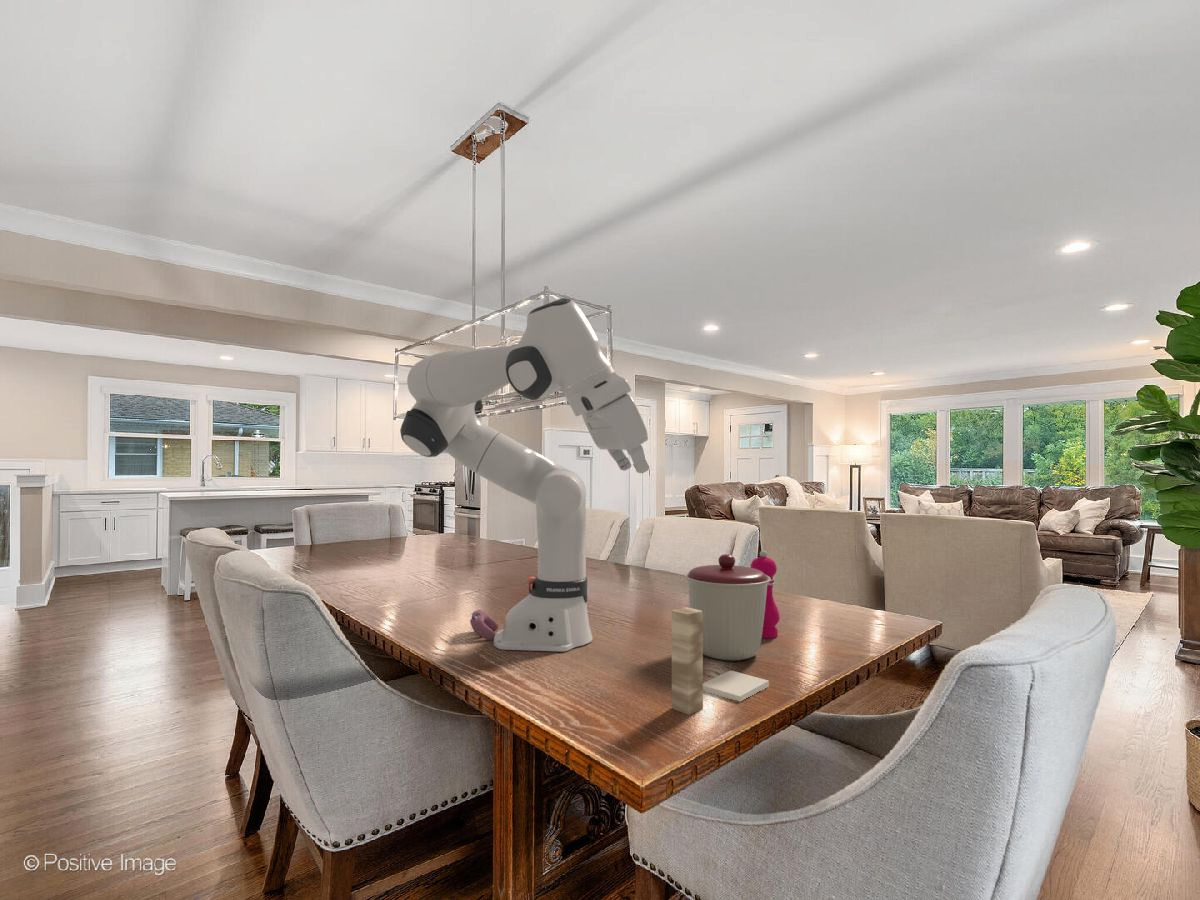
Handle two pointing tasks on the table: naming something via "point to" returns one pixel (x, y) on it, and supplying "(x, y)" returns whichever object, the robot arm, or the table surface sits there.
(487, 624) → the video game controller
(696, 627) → the block
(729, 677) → the tile
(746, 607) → the canister
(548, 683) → the table surface
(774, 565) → the pepper mill
